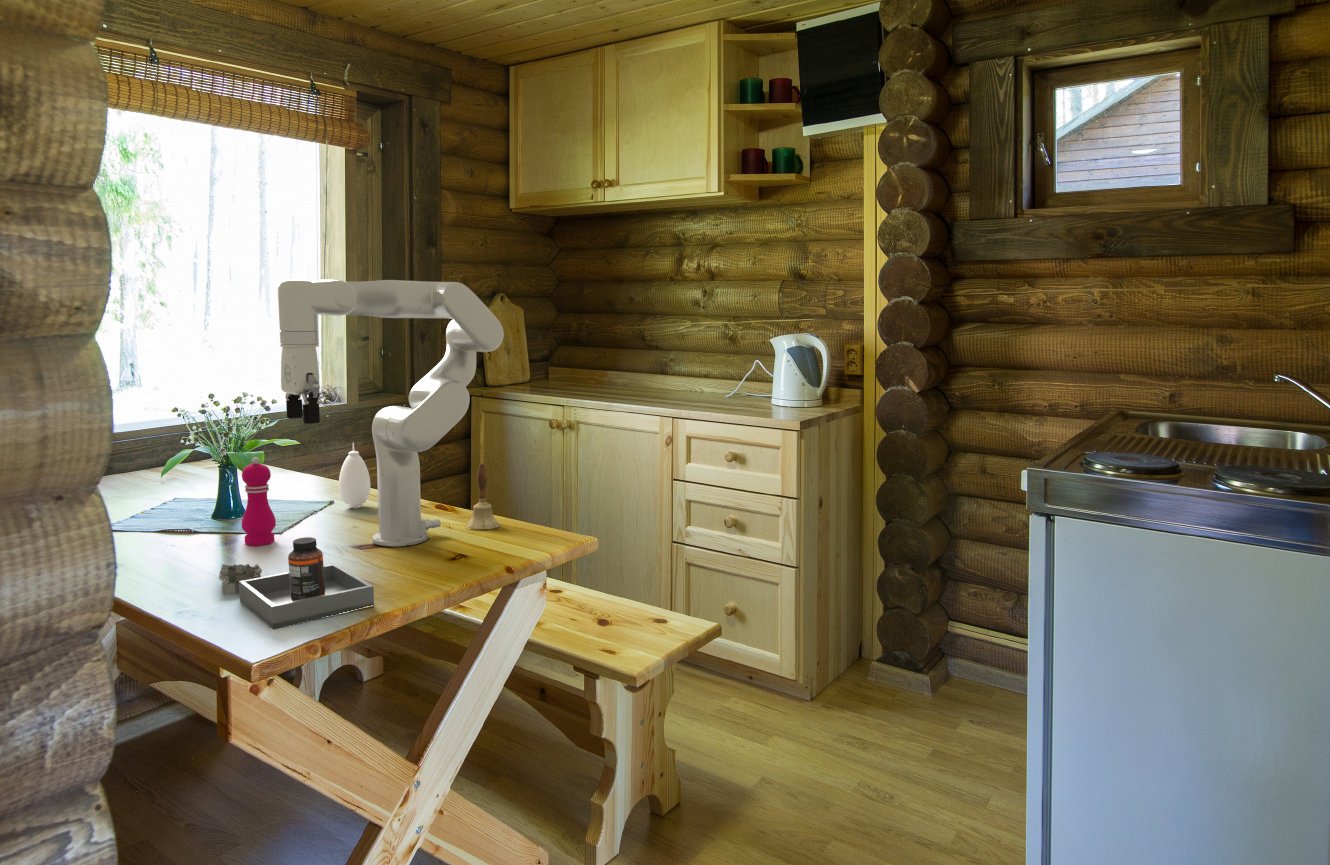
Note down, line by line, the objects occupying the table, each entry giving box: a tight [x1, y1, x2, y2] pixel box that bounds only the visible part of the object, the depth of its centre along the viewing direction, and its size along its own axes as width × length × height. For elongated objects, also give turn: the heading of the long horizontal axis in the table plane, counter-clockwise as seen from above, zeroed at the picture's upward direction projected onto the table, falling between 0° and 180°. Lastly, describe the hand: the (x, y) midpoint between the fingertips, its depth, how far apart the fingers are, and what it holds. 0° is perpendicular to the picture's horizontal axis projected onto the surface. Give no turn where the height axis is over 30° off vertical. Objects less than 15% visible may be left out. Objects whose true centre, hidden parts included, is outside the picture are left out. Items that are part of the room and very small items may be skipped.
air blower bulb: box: [338, 441, 371, 509], centre depth 240 cm, size 8×8×18 cm
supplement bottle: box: [287, 536, 325, 601], centre depth 164 cm, size 6×6×11 cm
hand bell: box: [465, 462, 501, 530], centre depth 223 cm, size 8×8×16 cm
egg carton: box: [218, 563, 263, 596], centre depth 175 cm, size 11×8×4 cm
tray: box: [239, 563, 375, 630], centre depth 165 cm, size 18×18×4 cm
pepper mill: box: [241, 456, 277, 547], centre depth 205 cm, size 7×7×20 cm
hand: (303, 420), depth 189 cm, fingers open, 9 cm apart
